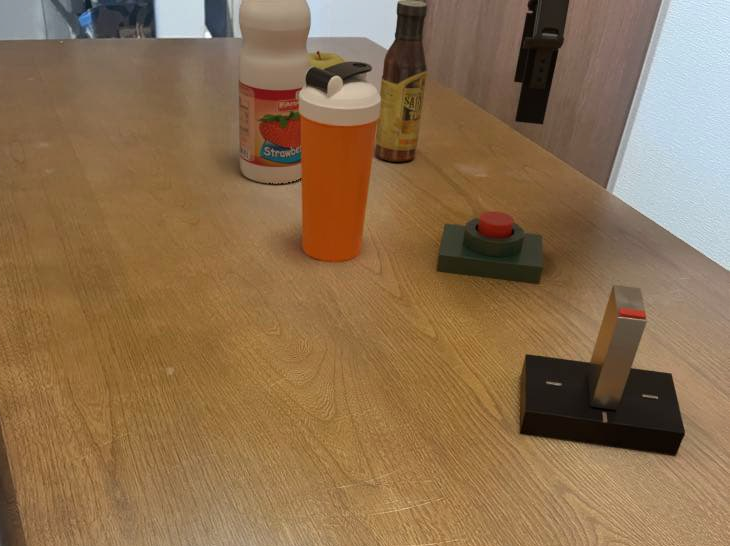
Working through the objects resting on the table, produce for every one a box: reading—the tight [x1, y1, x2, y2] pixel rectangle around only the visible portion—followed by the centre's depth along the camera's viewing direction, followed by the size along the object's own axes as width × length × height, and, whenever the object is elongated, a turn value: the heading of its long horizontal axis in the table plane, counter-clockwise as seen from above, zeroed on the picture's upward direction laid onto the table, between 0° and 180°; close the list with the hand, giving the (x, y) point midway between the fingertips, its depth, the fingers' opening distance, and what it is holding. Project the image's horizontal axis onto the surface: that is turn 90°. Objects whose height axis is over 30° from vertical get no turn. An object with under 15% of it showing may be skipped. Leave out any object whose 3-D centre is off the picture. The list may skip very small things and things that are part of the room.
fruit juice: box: [237, 0, 312, 185], centre depth 113 cm, size 9×9×28 cm
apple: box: [308, 50, 346, 70], centre depth 143 cm, size 10×10×8 cm
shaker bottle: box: [298, 61, 381, 263], centre depth 99 cm, size 9×9×20 cm
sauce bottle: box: [374, 0, 428, 162], centre depth 123 cm, size 7×6×20 cm
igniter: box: [436, 217, 544, 285], centre depth 104 cm, size 12×9×4 cm
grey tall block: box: [587, 284, 648, 410], centre depth 77 cm, size 6×2×9 cm, turn 170°
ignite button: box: [477, 211, 515, 238], centre depth 102 cm, size 4×4×2 cm
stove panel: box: [519, 353, 686, 456], centre depth 81 cm, size 14×10×3 cm
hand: (527, 101), depth 91 cm, fingers open, 13 cm apart
